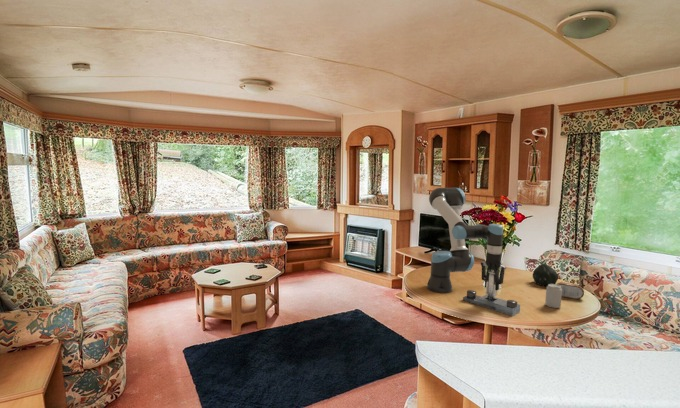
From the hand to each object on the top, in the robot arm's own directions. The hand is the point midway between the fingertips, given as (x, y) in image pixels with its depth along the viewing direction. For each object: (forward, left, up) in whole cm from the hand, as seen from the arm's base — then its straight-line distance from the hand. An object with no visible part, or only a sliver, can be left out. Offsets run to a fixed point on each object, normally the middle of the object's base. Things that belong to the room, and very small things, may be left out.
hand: (491, 294), depth 203 cm
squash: (+4, +66, -7) cm, 66 cm away
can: (+22, +28, -7) cm, 36 cm away
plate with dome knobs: (0, 0, -7) cm, 7 cm away
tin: (+23, +52, -7) cm, 57 cm away
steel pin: (0, 0, -4) cm, 4 cm away
